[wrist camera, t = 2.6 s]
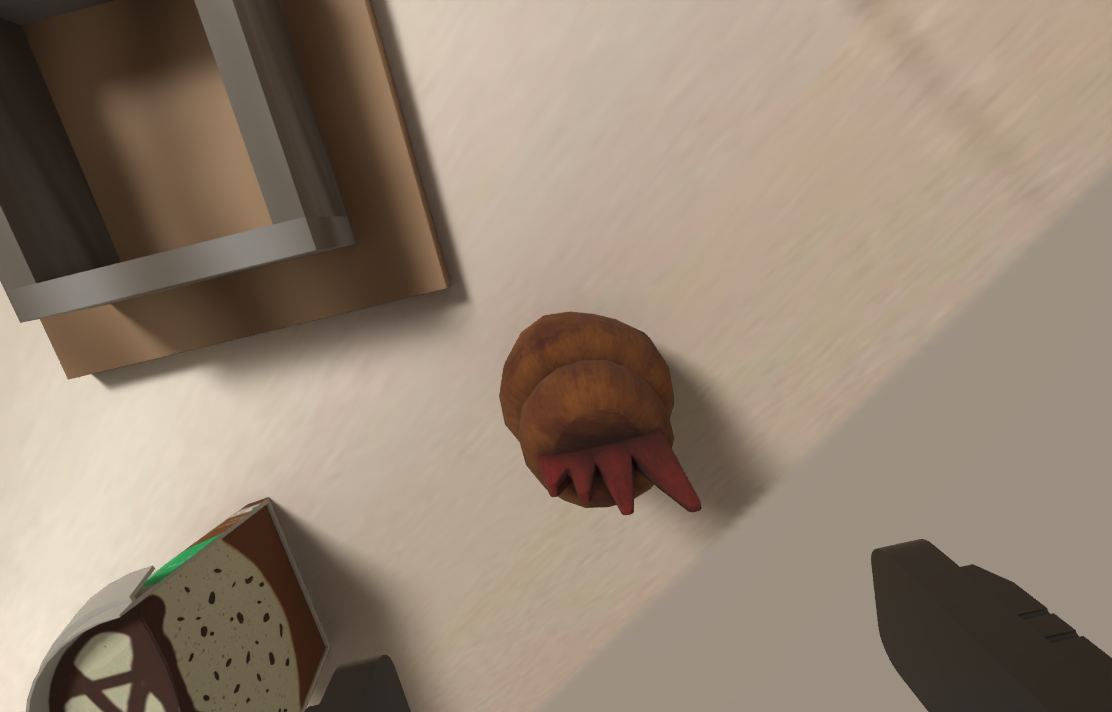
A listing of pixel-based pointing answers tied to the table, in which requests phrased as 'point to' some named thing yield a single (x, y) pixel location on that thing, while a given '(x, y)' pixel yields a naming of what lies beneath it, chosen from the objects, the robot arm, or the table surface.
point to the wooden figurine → (593, 412)
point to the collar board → (201, 173)
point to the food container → (194, 632)
